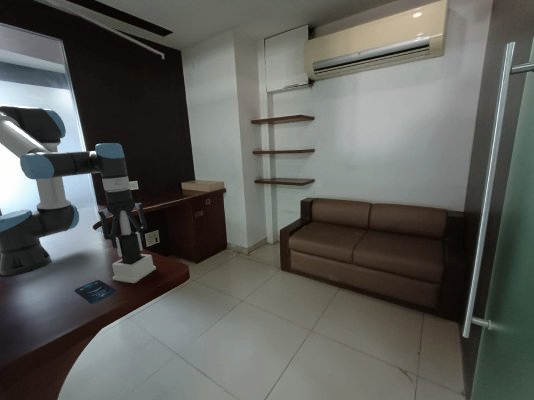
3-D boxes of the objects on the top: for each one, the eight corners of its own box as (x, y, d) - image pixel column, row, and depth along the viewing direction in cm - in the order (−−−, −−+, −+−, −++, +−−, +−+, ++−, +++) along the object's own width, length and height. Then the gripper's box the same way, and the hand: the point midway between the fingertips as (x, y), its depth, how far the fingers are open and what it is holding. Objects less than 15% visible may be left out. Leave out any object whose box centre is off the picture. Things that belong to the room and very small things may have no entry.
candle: (130, 272, 83) (116, 204, 77) (123, 269, 86) (108, 203, 80) (144, 266, 87) (131, 201, 82) (137, 263, 90) (124, 200, 84)
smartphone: (98, 279, 85) (118, 290, 77) (99, 280, 85) (118, 292, 77) (72, 290, 79) (91, 304, 71) (73, 291, 79) (91, 305, 71)
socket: (113, 280, 84) (109, 264, 83) (136, 266, 93) (133, 252, 92) (134, 283, 81) (131, 267, 79) (156, 268, 90) (153, 254, 89)
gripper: (84, 196, 71) (101, 265, 76) (150, 186, 83) (161, 246, 88) (82, 193, 77) (97, 258, 82) (144, 184, 89) (154, 241, 94)
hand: (130, 252), depth 85 cm, fingers open, 6 cm apart
